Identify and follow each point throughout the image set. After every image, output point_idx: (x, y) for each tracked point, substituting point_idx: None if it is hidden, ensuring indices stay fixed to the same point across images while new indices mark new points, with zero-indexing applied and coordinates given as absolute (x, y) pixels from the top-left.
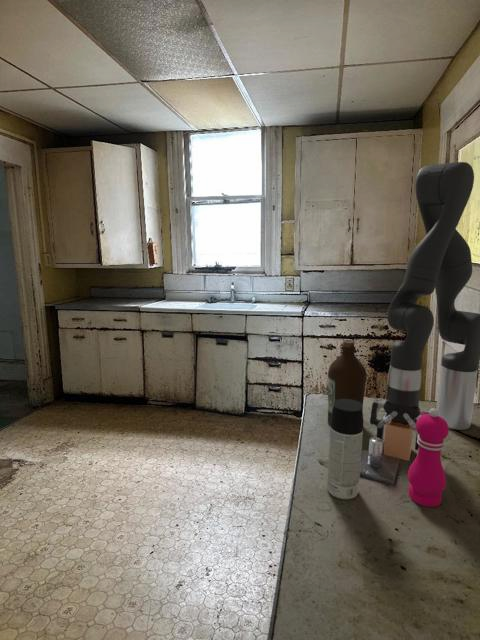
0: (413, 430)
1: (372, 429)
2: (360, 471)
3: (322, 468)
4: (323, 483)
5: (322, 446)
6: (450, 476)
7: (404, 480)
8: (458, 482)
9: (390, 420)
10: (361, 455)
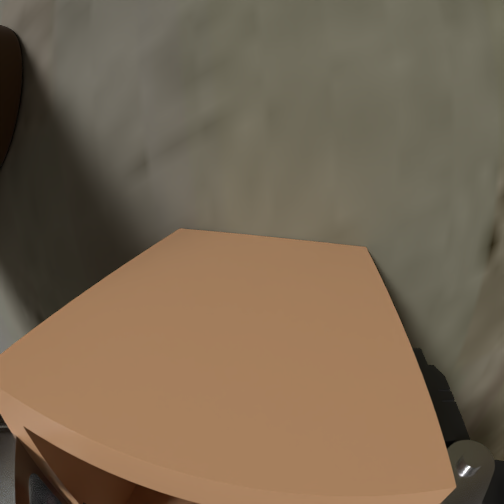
0: (409, 358)
1: (74, 59)
2: None
3: None
4: None
5: (2, 347)
6: (487, 423)
7: None
8: (493, 440)
9: (66, 489)
10: None
